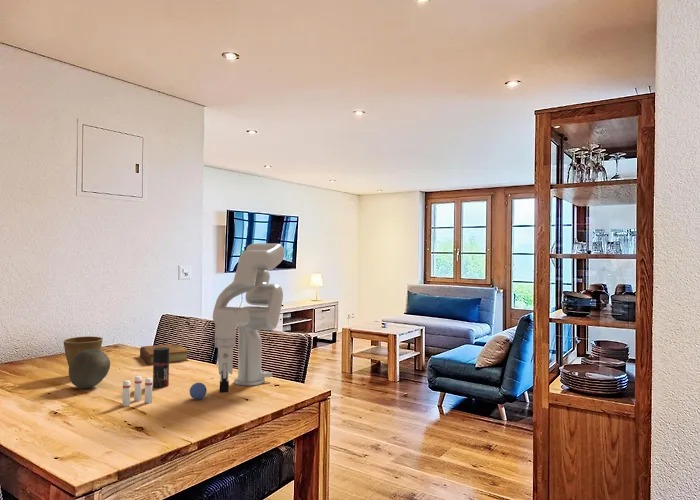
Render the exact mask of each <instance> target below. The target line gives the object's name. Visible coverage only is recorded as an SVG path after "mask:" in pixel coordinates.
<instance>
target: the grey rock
mask: <svg viewBox="0 0 700 500" xmlns="http://www.w3.org/2000/svg"><path fill="white" fill-rule="evenodd" d="M110 368H111V360H110V358H109V356H108V355H107V354H106V353H105V352H104V351H102V350H101V351H100V350H96V349H87V350H84V351H81V352H79V353H78V354H77V355H76V356H75V357H74V358H73V360H72V361H71V364H70V366H68V377H69V380H70V382H71V384H72V385H74V386H75V387H77V388H79V389H82V390H84V389H85V390H86V389H91V388H93V387H96V386H97V385H99V384H100V383H101V382H102V381H103V380H104V379H105V378H106V376H107V375H108V373H109V372H110Z"/></svg>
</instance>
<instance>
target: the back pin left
mask: <svg viewBox="0 0 700 500" xmlns="http://www.w3.org/2000/svg"><path fill="white" fill-rule="evenodd" d="M121 403H122V407H124V408H125V407H126V408H127V407H129V406H131V380H129V379H128V380H122V402H121Z"/></svg>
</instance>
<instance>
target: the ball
mask: <svg viewBox="0 0 700 500" xmlns="http://www.w3.org/2000/svg"><path fill="white" fill-rule="evenodd" d="M207 390H208V389H207V386H206V385H205V384H204V383H202V382H195V383H193V384H192V385H191V386H190V388H189V396H190V397H191V398H192V399H193V400H197V401H199V400H202V399H203V398H204V397H205V396H206V394H207Z"/></svg>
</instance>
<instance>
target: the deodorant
mask: <svg viewBox="0 0 700 500" xmlns="http://www.w3.org/2000/svg"><path fill="white" fill-rule="evenodd" d="M152 366H153V367H152V369H153V370H152V374H153V375H152V388H154V389H161V388H163V389H164V388H167V387H169V385H170V383H169V381H170V380H169V379H170V363H169V348H166V347H161V348H155V349H154V352H153V365H152Z"/></svg>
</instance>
